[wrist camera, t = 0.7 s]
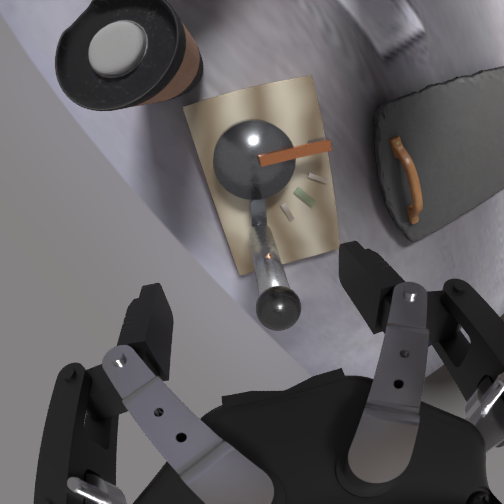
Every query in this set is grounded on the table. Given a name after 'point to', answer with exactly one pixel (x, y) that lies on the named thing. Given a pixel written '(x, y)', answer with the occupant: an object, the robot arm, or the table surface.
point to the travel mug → (127, 55)
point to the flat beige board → (298, 188)
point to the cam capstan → (263, 204)
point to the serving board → (441, 151)
